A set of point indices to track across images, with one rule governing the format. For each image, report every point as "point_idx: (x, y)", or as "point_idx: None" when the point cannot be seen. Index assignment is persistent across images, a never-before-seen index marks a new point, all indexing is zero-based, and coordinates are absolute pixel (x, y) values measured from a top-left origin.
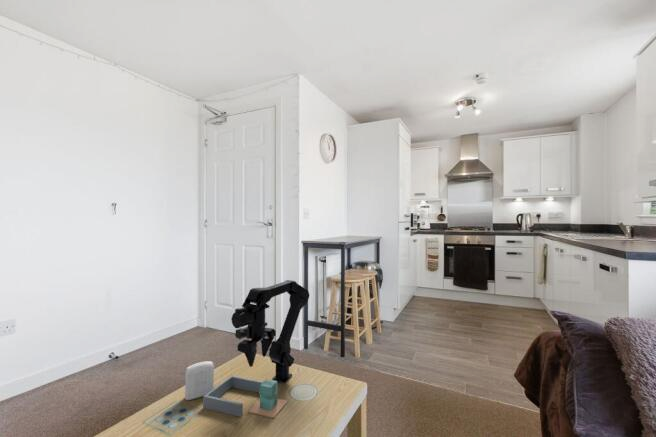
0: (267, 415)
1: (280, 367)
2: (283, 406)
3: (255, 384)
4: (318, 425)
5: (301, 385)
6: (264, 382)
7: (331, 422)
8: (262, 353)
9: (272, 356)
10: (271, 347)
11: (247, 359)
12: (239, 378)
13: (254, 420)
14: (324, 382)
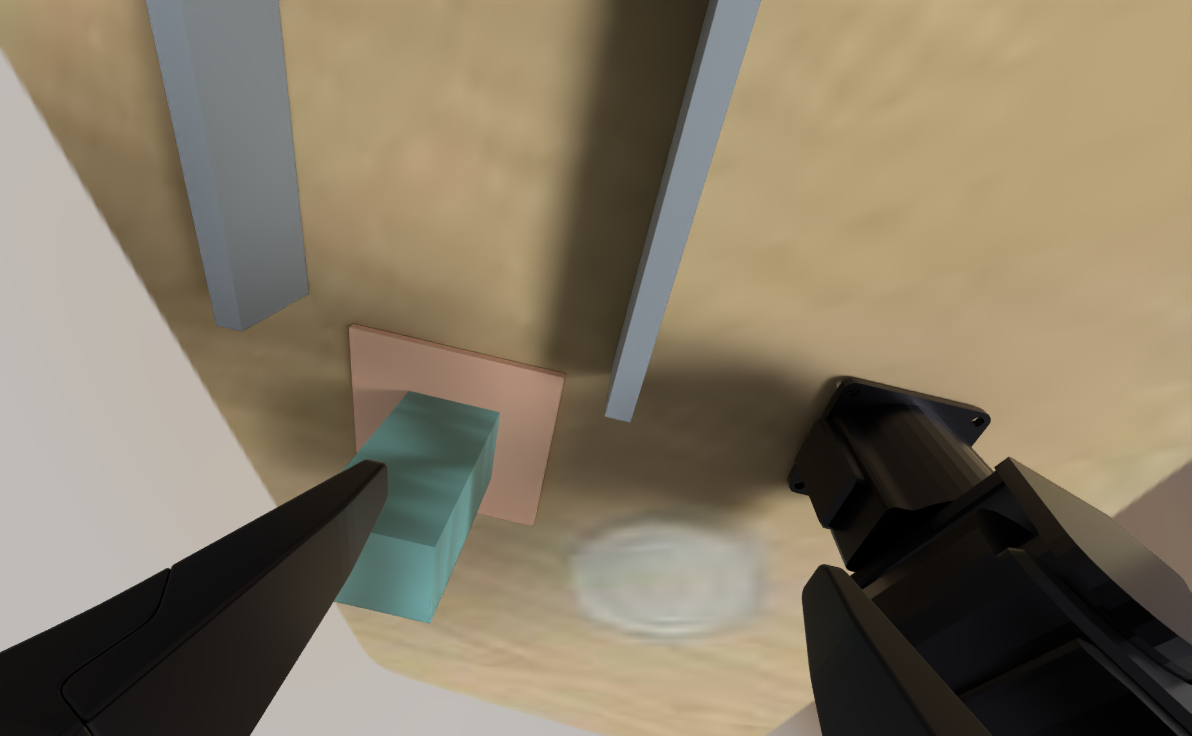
0: (357, 451)
1: (851, 545)
2: (480, 509)
3: (631, 310)
4: (391, 639)
5: (740, 569)
6: (367, 543)
7: (427, 672)
8: (841, 614)
9: (930, 602)
10: (1127, 730)
11: (202, 559)
12: (699, 70)
13: (299, 385)
14: (773, 664)
